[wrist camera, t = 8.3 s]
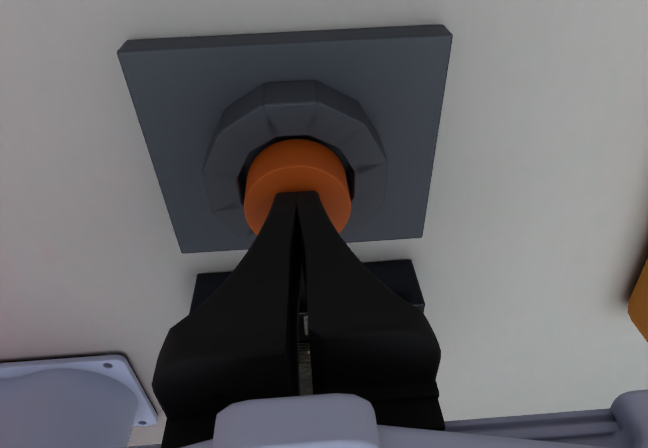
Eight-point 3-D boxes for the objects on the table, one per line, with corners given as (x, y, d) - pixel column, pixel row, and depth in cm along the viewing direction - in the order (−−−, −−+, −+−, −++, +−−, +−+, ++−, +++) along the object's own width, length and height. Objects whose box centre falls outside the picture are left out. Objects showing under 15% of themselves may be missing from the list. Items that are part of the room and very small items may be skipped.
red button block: (326, 390, 25) (332, 462, 22) (299, 392, 25) (301, 464, 22) (325, 340, 22) (331, 416, 19) (294, 343, 22) (296, 419, 19)
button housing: (185, 236, 21) (173, 283, 19) (125, 39, 15) (97, 72, 13) (416, 221, 21) (432, 266, 19) (443, 23, 16) (471, 52, 13)
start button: (253, 222, 17) (251, 253, 16) (240, 141, 15) (235, 169, 14) (345, 217, 17) (350, 247, 16) (346, 134, 15) (351, 162, 14)
